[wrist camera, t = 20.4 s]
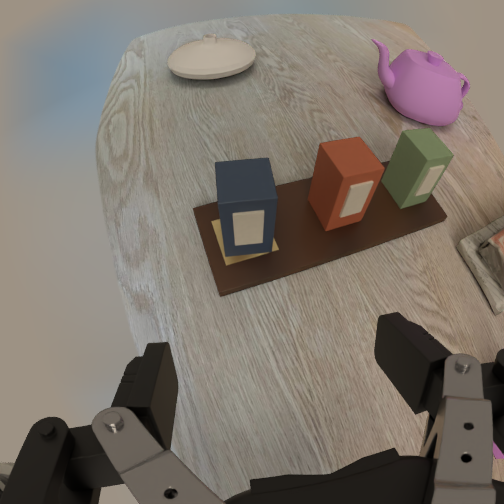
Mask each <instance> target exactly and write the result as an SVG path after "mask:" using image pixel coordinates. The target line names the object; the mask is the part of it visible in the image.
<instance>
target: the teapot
mask: <svg viewBox="0 0 504 504" xmlns="http://www.w3.org/2000/svg"><path fill="white" fill-rule="evenodd" d="M371 40H372V41H373V42H374V43H375V44H376V45H377V47H378V49H379V53H380V56H379V63H378V75H379V78H380V80H381V82H382V84H383V85H384V88H385V92H386V94H387V97H388V99H389V101H390V103H391V104H392V106H393V107H394V108H395V109H396V110H397V111H398V112H399V113H401V114H403V115H404V116H405V117H408V118H411V119H413V120H416V121H419V122H422V123H425V124H429V125H434V126H445V125H448V124H451V123H453V122H454V121H455V120H456V119H457V117H458V115H459V112H460V110H461V109H462V108H463V103H462V98H463V97H464V96H465V95H466V94H467V93H468V91H469V89H470V83H469V81H468V79H467V78H466V77H465V76H464V75H463V74H461V73H458V72H456V71H455V70H454V69H453V68H452V67H451V66H450V65H449V64H448V63H447V62H445V61H444V58H443V57H442V56H441V55H439V54H438V53H436V52H433V51H428V53H425V52H421V51H417V50H412V49H407V50H405V51H404V52H402V53H401V54H400V55H399V56H398V57H397V58H396V59H395V60H394V61H393V62H392V63H391V65H390V66H389V50H388V48H387V47H386V46H385V45H384V44H382V43H381V42H379V41H376V40H374V39H371ZM460 79H462V80H464V85H463V87H462V89H461V81H460Z"/></svg>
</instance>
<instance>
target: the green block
mask: <svg viewBox="0 0 504 504" xmlns="http://www.w3.org/2000/svg"><path fill="white" fill-rule="evenodd" d="M453 156H454V155H453V154H452V152H451V151H450V150H449V149H448V148H447V147H446V145H445V144H444V143H443V142H442V141H441V140H440V139H439V138H438V136H437V135H436V134H435V133H434V132H433V131H432V130H431V129H430V128H424V129H414V130H405V131H402V133H401V136H400V138H399V141H398V143H397V145H396V148H395V150H394V153H393V155H392V157H391V160H390V162H389V164H388V166H387V169H386V171H385V173H384V176H383V178H382V180H381V182H382V183H383V184H384V186H385V187H386V189H387V190H388V192H389V193H390V194H391V196H392V197H393V199H394V200H395V202H396V203H397V205H398V206H399V208H400V209H402V208H405V207H409V206H412V205H415V204H419V203H422V202H425V201H426V200H427V199H428V197H429V196H430V194H431V193H432V191H433V189H434V188H435V186H436V184H437V183H438V181H439V180H440V178H441V176H442V175H443V173H444V171H445V170H446V168H447V166H448V164H449V163H450V161H451V159H452V158H453Z"/></svg>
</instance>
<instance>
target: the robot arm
mask: <svg viewBox="0 0 504 504" xmlns="http://www.w3.org/2000/svg"><path fill="white" fill-rule="evenodd" d="M374 353H375V359H376V361H377V363H378V365H379V366H380V367H381V369H382V370H383V371H384V373H385V374H386V375H387V377H388V378H389V379H390V381H391V382H392V383H393V385H394V386H395V388H396V389H397V390H398V392H399V393H400V394H401V396H402V397H403V398H404V400H405V401H406V402H407V404H408V405H409V406H410V408H411V409H412V411H413V412H414V413H415V415H416V414H418V413H421V412H424V411H426V410H427V411H428V412H429V414H428V417H427V420H426V426H425V431H424V436H423V441H422V445H421V450H420V454H419V456H399V454H398V452H397V451H396V449H395V448H392V449H389V450H386V451H383V452H380V453H376V454H373V455H370V456H367V457H363V458H361V459H359V460H357V461H355V462H353V463H352V464H350V465H348V466H346V467H344V468H342V469H339V470H337V471H335V472H333V473H331V474H325V475H282V476H275V477H268V478H260V479H251V480H250V486H251V489H250V490H247V491H244V492H242V493H239V494H237V495H234V496H233V497H231V498H229V499H227V500H226V501H224V502H223V501H222V500H221V499H220V498H219V497H218V496H217V495H216V494H215V493H213V492H212V491H211V490H210V489H209V488H208V487H207V486H206V485H205V484H204V483H203V482H202V481H201V480H200V479H199V478H198V477H197V476H196V475H195V474H194V473H193V472H192V471H191V470H190V469H189V468H188V467H187V466H186V465H185V464H184V463H183V462H182V461H181V460H180V459H179V458H178V457H177V456H176V455H175V454H174V453H173V452H172V451H171V450H170V448H171V440H172V432H173V425H174V417H175V410H176V403H177V396H178V379H177V374H176V370H175V366H174V362H173V358H172V354H171V349H170V346H169V343H168V342H160V343H148V344H147V346H146V349H145V352H144V355H143V356H141V357H135V358H134V359H133V360H132V361H131V362H130V363H129V364H128V365H127V367H126V369H125V372H124V376H123V377H122V379H121V383H120V384H119V387H118V389H117V392H116V395H115V397H114V400H113V402H112V405H111V408H107V409H105V410H103V411H101V412H99V413H98V414H97V415H96V416H95V417H94V419H93V421H92V424H91V425H87V426H82V427H75V428H68V426H67V424H66V423H65V421H63V420H62V419H60V418H58V417H47V418H44V419H41V420H39V421H38V422H36V423H35V424H34V425H33V426H32V428H31V429H30V431H29V433H28V435H27V437H26V440H25V442H24V444H23V446H22V448H21V450H20V453H19V455H18V457H17V459H16V462H15V464H14V466H13V468H12V471H11V473H10V475H7V474H3V473H0V504H98V503H99V497H100V491H101V487H107V486H113V485H119V484H126V486H127V487H128V489H129V490H130V491H131V493H132V494H133V496H134V497H135V498H136V500H137V501H138V503H139V504H504V482H501V481H497V480H494V479H492V466H493V441H494V443H495V444H496V445H497V447H498V448H499V450H500V451H501V452H502V454H503V455H504V349H501V350H500V351H499V352H498V353H497V356H496V359H495V362H491V363H484V364H480V362H479V361H478V360H477V359H476V358H474V357H473V356H470V355H467V354H452V353H451V352H450V351H449V350H447V349H446V348H445V347H444V346H443V345H442V344H441V343H440V342H439V341H437V340H436V339H434V337H433V336H432V335H431V334H428V332H427V331H426V330H425V329H424V328H423V327H422V326H420V325H418V324H415V323H413V322H411V321H408V320H407V319H406V318H404V317H403V316H402V315H401V314H400V313H399V312H395V313H390V314H385V315H381V316H379V318H378V323H377V332H376V340H375V349H374Z"/></svg>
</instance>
